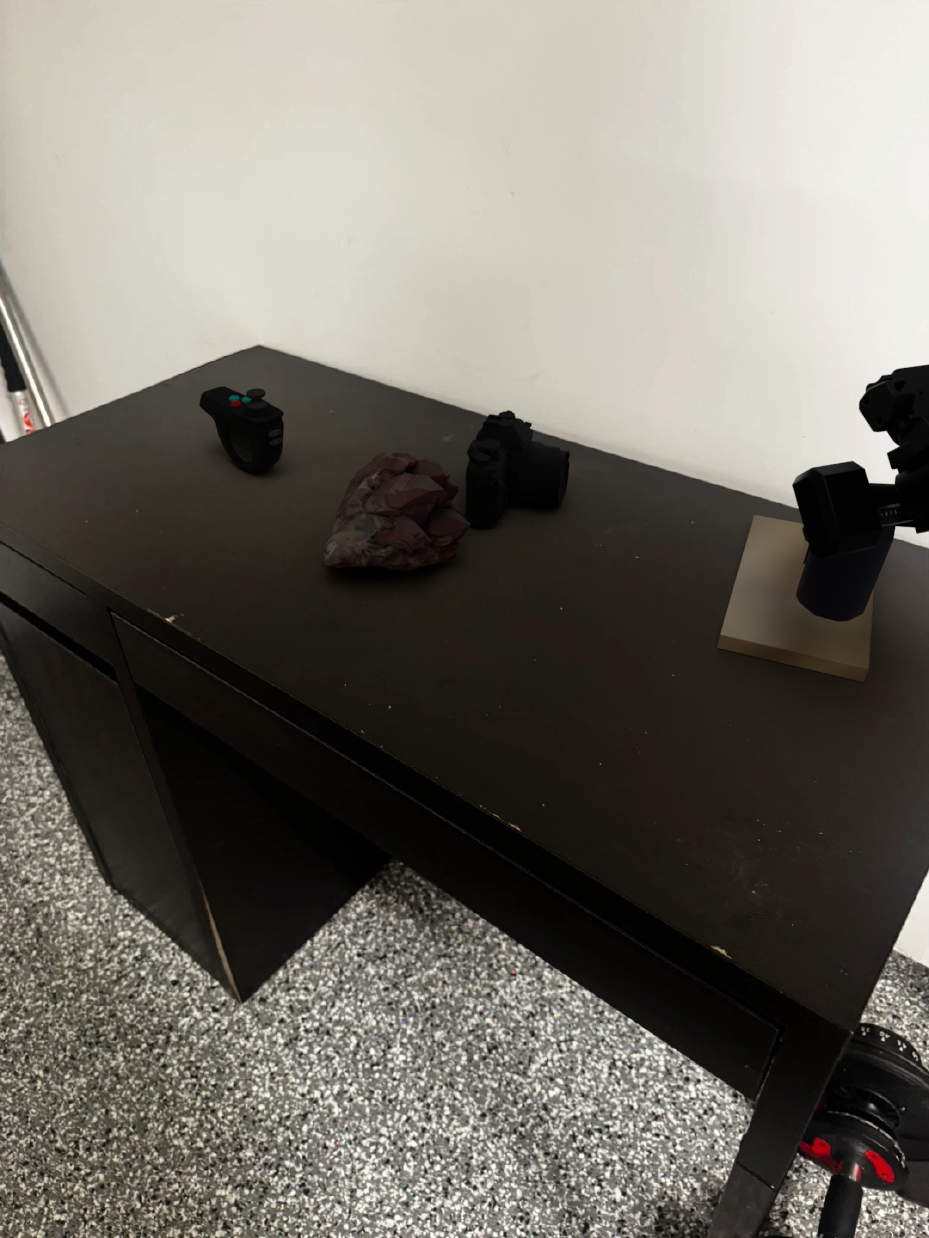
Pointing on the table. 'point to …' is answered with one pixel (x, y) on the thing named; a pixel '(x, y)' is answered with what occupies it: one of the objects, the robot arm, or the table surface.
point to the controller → (246, 426)
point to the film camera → (511, 470)
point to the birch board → (789, 609)
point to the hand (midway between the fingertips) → (847, 526)
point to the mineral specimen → (397, 516)
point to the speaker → (844, 576)
